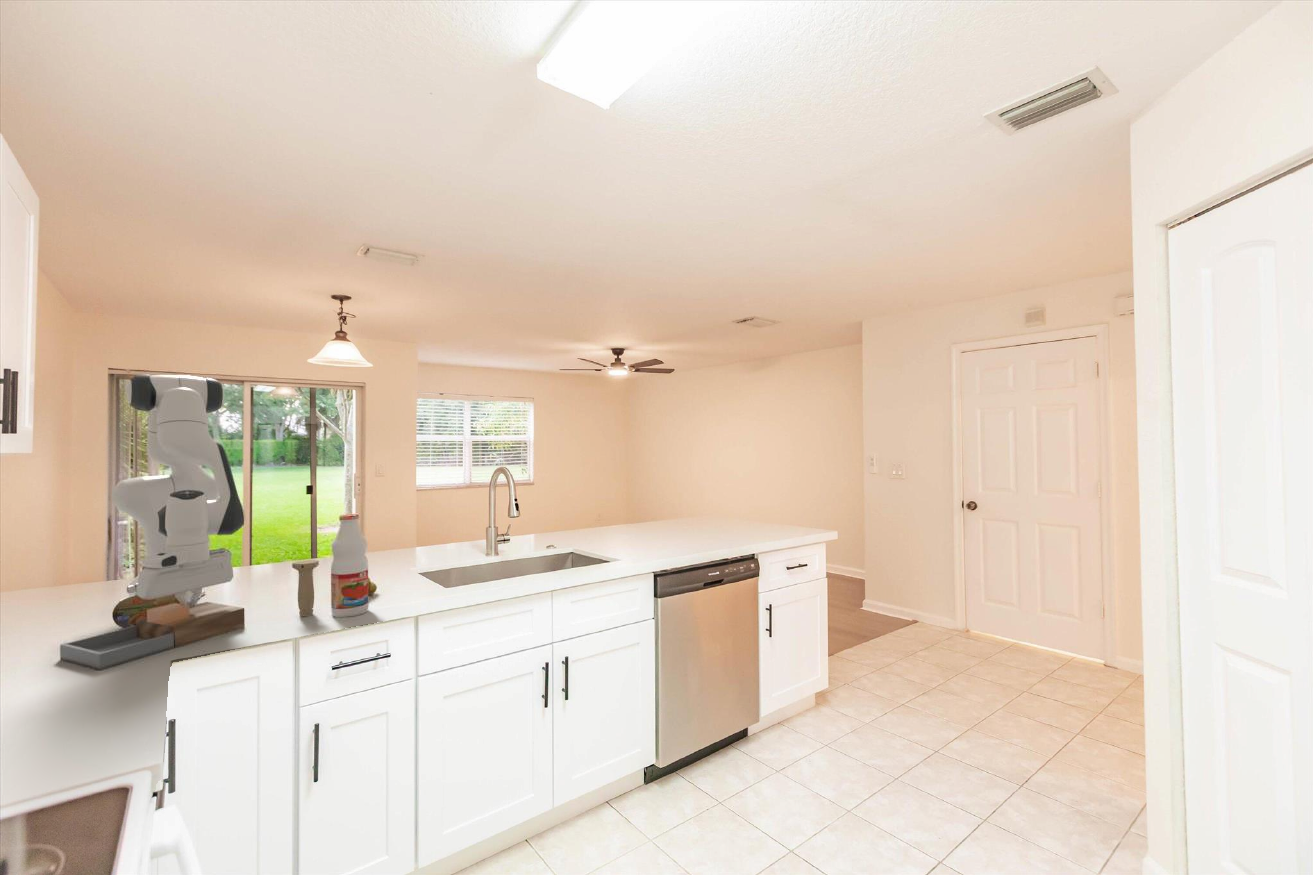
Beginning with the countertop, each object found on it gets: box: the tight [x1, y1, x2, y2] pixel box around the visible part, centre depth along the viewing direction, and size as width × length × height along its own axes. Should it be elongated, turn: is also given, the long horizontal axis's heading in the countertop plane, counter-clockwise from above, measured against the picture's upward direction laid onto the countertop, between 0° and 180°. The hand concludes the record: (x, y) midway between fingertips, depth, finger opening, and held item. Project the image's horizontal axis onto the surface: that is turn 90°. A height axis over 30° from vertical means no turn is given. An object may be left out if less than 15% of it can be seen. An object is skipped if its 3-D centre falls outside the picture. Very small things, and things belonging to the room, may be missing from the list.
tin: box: [111, 594, 180, 629], centre depth 156 cm, size 15×3×8 cm, turn 117°
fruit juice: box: [330, 513, 370, 618], centre depth 165 cm, size 9×9×28 cm
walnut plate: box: [136, 601, 245, 648], centre depth 149 cm, size 16×16×5 cm
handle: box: [291, 559, 320, 617], centre depth 163 cm, size 5×6×15 cm
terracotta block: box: [147, 603, 190, 625], centre depth 144 cm, size 6×6×3 cm
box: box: [59, 626, 175, 671], centre depth 135 cm, size 16×14×4 cm
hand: (188, 607), depth 148 cm, fingers closed
